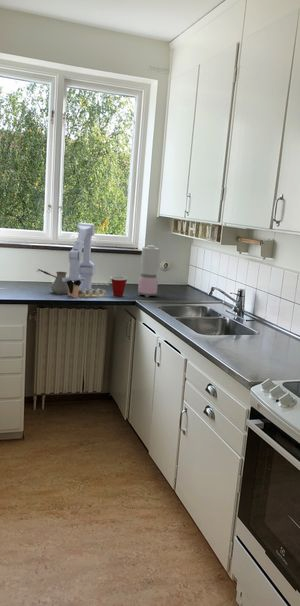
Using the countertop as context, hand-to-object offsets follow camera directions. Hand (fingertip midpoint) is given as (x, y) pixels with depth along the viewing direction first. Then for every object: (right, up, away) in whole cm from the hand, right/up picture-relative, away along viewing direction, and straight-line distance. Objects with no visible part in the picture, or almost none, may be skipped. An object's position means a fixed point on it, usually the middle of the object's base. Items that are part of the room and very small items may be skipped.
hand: (73, 293), depth 303 cm
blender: (+45, -1, +26) cm, 52 cm away
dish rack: (+10, -1, +8) cm, 13 cm away
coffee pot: (-13, 0, +5) cm, 14 cm away
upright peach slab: (0, -2, 0) cm, 2 cm away
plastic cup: (+26, -2, +14) cm, 30 cm away
